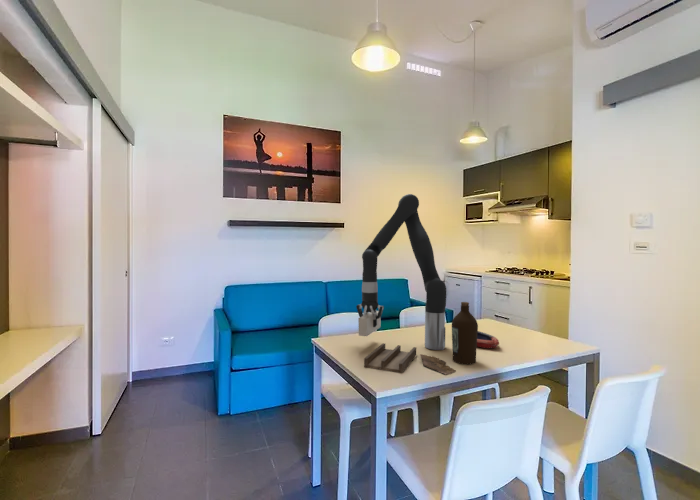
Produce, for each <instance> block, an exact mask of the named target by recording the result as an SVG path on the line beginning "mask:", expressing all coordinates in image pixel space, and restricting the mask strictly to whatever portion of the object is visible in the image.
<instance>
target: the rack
mask: <svg viewBox="0 0 700 500" xmlns="http://www.w3.org/2000/svg"><path fill="white" fill-rule="evenodd" d="M416 356H417V347H415V346H414V347H412V349H411V350H410V351H402V350H401V345H397V346H395V348H393V349H388V348H386V343H381V344H380V345H379V346H378V347H376V348H375V349H374V350H373V351H371V352H370V353H369V354H367V355H366V356H365V357H364V359H363V367H364V368H368V369H376V370H380V371H381V370H382V371H387V372H394V373H401V374H402V373H403V372H405V370H406V369H407V368H408V366H409V365H410V364H411V362H412V361H413V360H414V358H416Z"/></svg>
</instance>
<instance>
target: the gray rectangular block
mask: <svg viewBox="0 0 700 500" xmlns="http://www.w3.org/2000/svg"><path fill="white" fill-rule="evenodd" d="M376 312H377V315H378V312H379V310H376ZM381 319H382V316H381V317H380V318H379V319H377V326H376V327H373V320H374V319H373V315H372V313H371V312H368V314H366V315H364V316H362V317H358V336H360V337H368V336H369V335H371V334H372V333H374V332H376V331H377V330H379V329H380V328H381V327H382V326H381V324H382V321H381Z"/></svg>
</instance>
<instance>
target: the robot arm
mask: <svg viewBox="0 0 700 500" xmlns="http://www.w3.org/2000/svg"><path fill="white" fill-rule="evenodd" d="M397 205H398V206H397V208H396V210H394V211H395V212H394V213H393V214H392V216H391V217H390V218H389V220H387V222H386V223H385V224H384V225H383V226H382V228H381V229H380V230H379V232H378V233H377V234H376V236H375V237H373V239H372V242H371V243H370V244H369V245H368V246H367V247H366V249H364V251H363V252H362V255H361V259H362V277H361V278H362V280H361V281H362V284H361V303H360V304H357V305H356V307H355V308H356V310H357V313H358V314H357V315H358V316H359V317H358V318H360V317H362V316H364V315H366V314H368V313H369V312H371V313H372V315H373V319H374V320H373V327H376V326H377V319H379V318H380V317H381V318H382V315H383V312H384V308H385V306H384V305H379V293H378V287H379V286H378V272H377V271H378V270H377V269H378V257H379V256H380V254H381V253H382V251H383V250H385V249H386V248H387V246H389V244H390V242H391V241H392V240H393V239H394V238H395V236H396V234H397V232H398V231H399V229H400V228H401V227H402V226H403V224H404V225H405V227H406V231H407V236H408V239H409V243H410V246H411V249H412V252H413V255H414V257H415V260H416V262H417V266H418V267H419V269H420V271H421V276H422V281H423V285H424V286H423V287H424V290H425V292H426V294H425V295H426V299H425V300H426V302H425V306H424V307H425V310H424V314H425V315H424V348H426V349H429V350H433V351H435V350H436V351H441V350H442V351H444V349H445V348H446V326H445V324H446V306H447V285H446V283H445V282H444V281H443V280H442V279H441V277H440V275H439V273H438V271H437V269H436V264H435V263H436V262H435V255H434V254H435V253H434V249H433V245H432V243H431V239H430V237H429V235H428V232H427V231H426V229H425V227H424V225H423V224H422V222H421V220H420V216H419V211H418V209H419V206H420V199H419V198H418V197H417V195H415V194H413V193H407V194H404V195H403V196H402V197H401V198H400V199H399V201H398V203H397ZM362 309H363V310H362ZM377 309H378V310H377ZM376 311H379V312H378V315H377V312H376Z"/></svg>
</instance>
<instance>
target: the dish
mask: <svg viewBox="0 0 700 500" xmlns="http://www.w3.org/2000/svg"><path fill="white" fill-rule="evenodd" d="M499 345H500V342H499V339H498V338H497V337H495V336H494V335H492V334H489V333H487V332H482V331H479V330H478V333H477V348H482V349H496V348H498V346H499Z"/></svg>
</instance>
